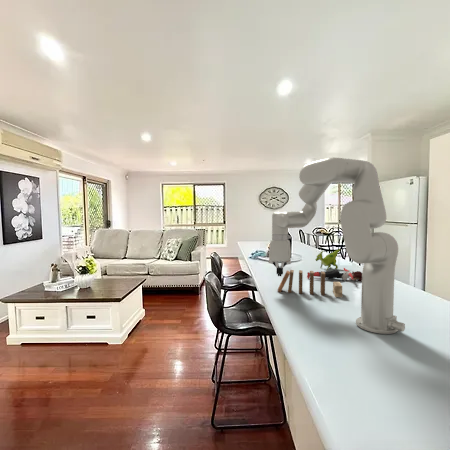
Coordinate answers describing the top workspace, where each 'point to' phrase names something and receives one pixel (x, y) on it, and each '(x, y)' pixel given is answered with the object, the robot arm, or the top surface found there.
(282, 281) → the domino
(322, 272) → the domino
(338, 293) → the end block
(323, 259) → the toy
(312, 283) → the domino
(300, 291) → the domino
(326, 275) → the toy
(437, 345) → the top surface
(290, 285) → the domino
